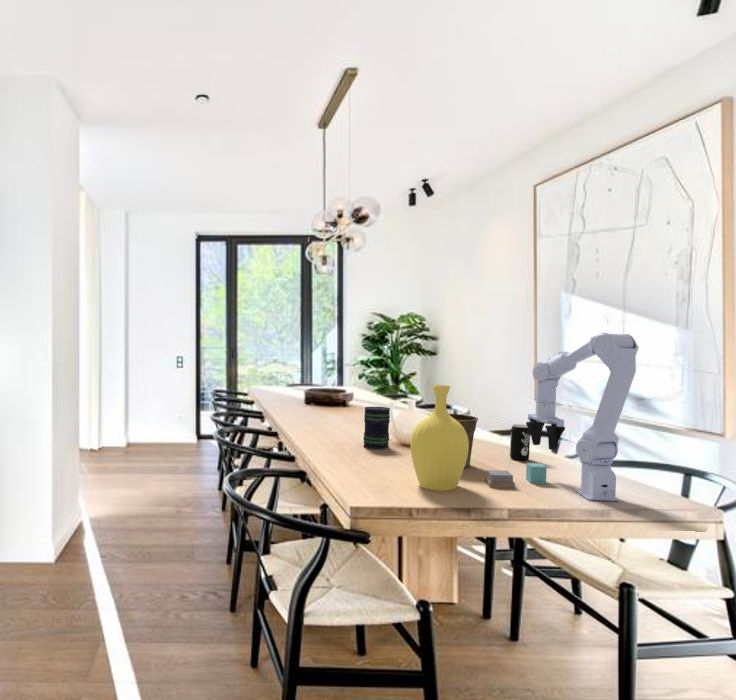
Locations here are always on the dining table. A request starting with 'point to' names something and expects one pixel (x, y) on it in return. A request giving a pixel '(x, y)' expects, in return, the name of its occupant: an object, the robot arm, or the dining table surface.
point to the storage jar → (376, 427)
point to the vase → (439, 447)
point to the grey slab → (499, 476)
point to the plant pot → (467, 430)
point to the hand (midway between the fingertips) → (544, 447)
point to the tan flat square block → (499, 484)
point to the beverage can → (520, 442)
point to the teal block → (536, 473)
